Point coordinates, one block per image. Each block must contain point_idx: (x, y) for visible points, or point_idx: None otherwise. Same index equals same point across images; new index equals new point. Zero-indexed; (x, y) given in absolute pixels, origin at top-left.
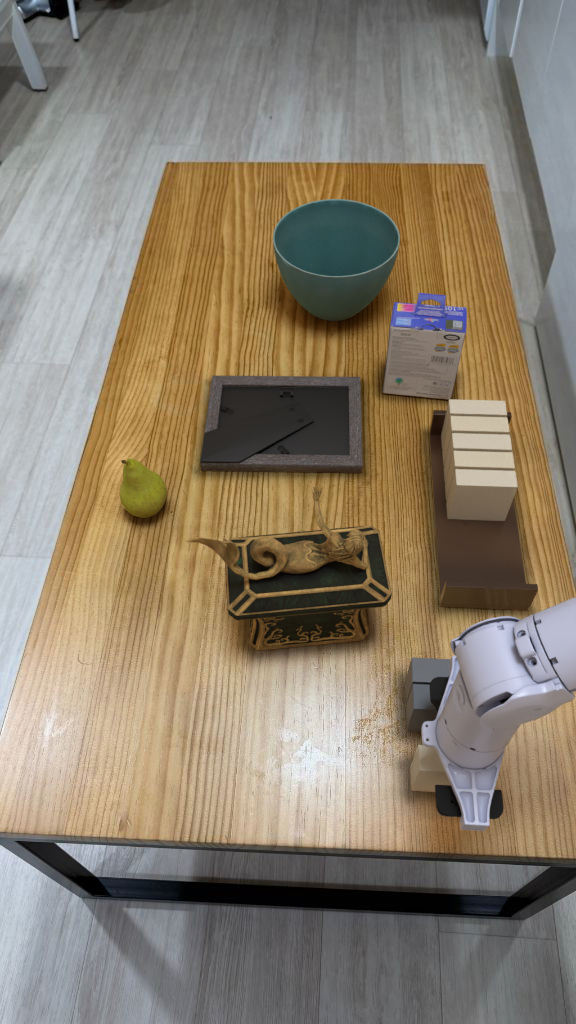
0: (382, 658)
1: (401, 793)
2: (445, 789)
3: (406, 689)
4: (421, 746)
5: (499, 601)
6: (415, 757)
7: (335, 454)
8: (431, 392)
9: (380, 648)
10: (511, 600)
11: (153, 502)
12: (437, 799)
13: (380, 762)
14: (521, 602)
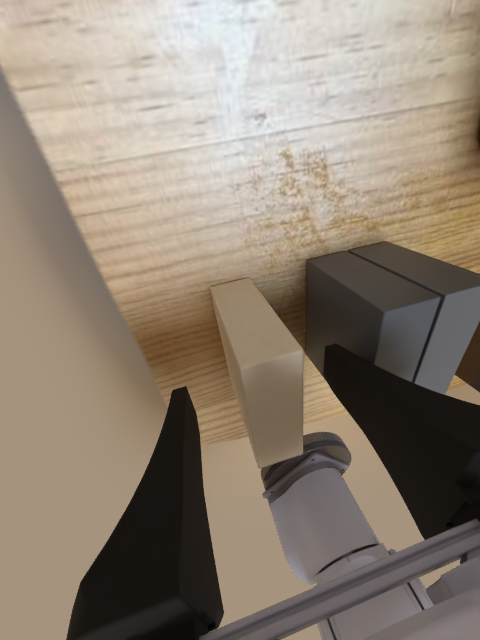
0: (432, 191)
1: (200, 272)
2: (172, 614)
3: (381, 251)
4: (299, 356)
5: (475, 349)
6: (268, 318)
7: None
8: None
9: (450, 184)
10: (474, 363)
11: None
12: (116, 622)
13: (247, 223)
14: (465, 369)
